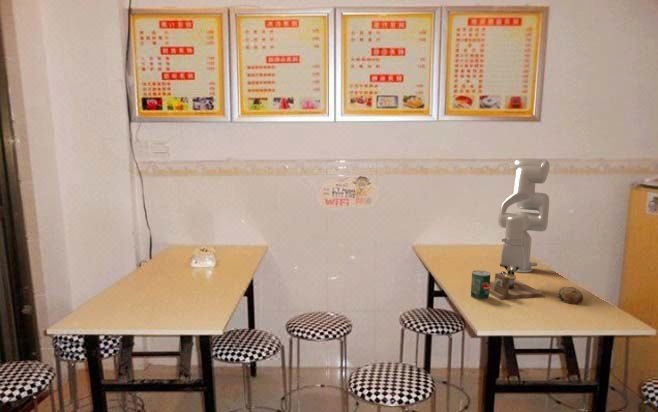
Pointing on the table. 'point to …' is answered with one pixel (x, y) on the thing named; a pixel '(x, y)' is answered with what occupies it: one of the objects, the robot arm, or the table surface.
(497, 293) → the stand
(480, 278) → the canned tomato
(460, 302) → the table surface
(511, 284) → the lever
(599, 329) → the table surface
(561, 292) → the bread roll
